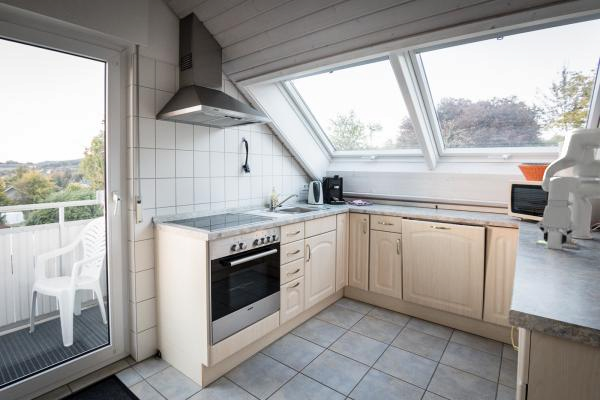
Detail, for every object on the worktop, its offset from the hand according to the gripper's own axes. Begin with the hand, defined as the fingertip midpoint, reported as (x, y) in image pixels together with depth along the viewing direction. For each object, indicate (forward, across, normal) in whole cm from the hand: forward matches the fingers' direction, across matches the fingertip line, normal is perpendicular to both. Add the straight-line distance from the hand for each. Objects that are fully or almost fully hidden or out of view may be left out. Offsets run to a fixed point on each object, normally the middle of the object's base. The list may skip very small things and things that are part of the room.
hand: (554, 241), depth 152 cm
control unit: (+3, 0, -18) cm, 19 cm away
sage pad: (+3, +4, -8) cm, 9 cm away
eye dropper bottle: (+3, 0, 0) cm, 3 cm away
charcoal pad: (+3, -4, -8) cm, 9 cm away
